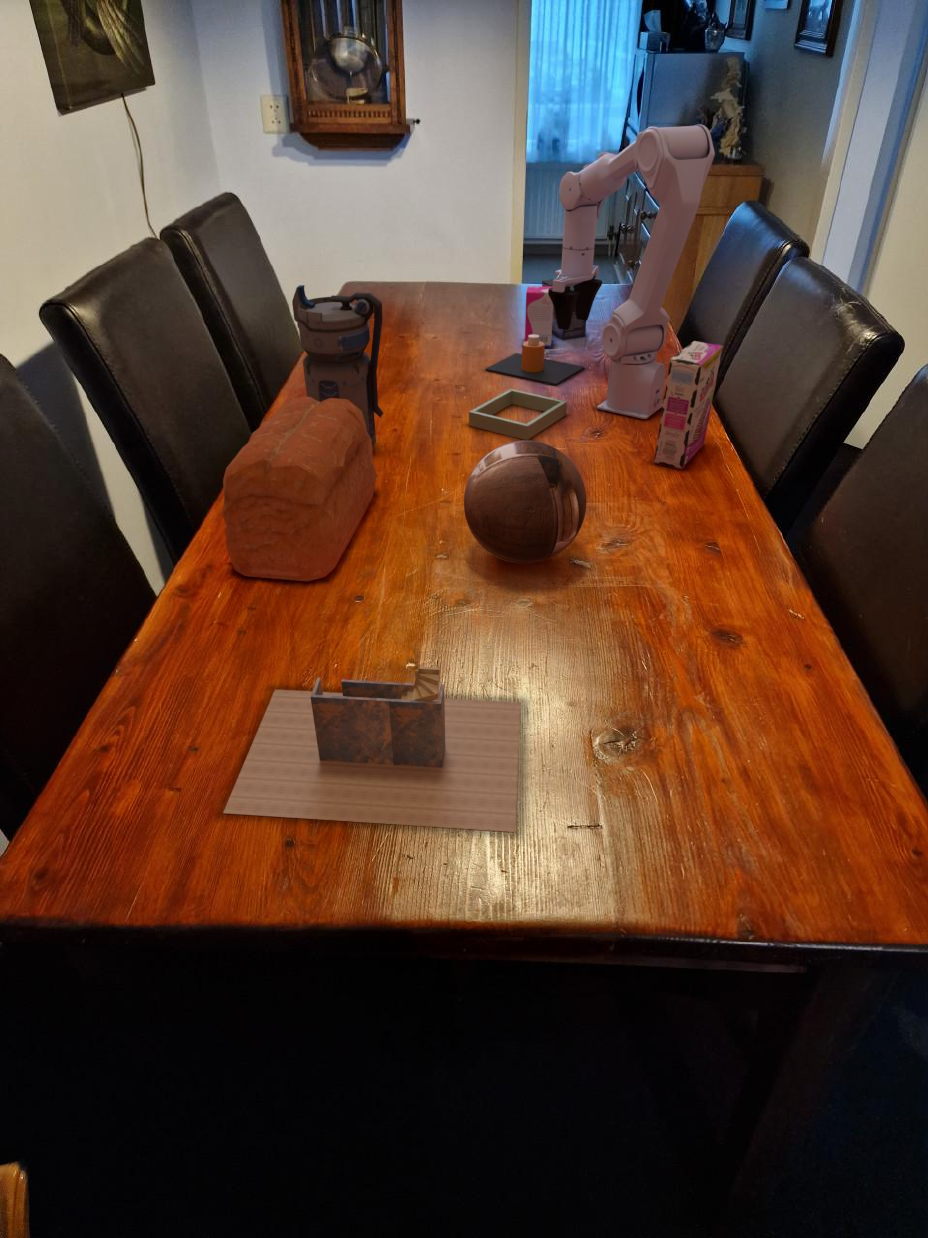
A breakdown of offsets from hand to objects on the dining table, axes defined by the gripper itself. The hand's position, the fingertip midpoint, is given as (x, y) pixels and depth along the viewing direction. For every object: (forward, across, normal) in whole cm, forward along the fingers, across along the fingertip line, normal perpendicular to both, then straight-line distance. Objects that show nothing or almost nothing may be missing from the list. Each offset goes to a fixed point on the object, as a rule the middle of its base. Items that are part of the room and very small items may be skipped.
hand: (573, 324), depth 155 cm
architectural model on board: (+10, +103, +35) cm, 109 cm away
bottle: (+9, +2, -7) cm, 12 cm away
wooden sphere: (+10, +65, +27) cm, 71 cm away
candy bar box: (+10, +24, +32) cm, 42 cm away
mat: (+10, +1, -7) cm, 12 cm away
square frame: (+10, +26, +4) cm, 28 cm away
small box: (+10, -25, -15) cm, 31 cm away
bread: (+10, +75, 0) cm, 75 cm away
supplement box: (+10, -14, -15) cm, 23 cm away
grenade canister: (+10, +52, -13) cm, 54 cm away
